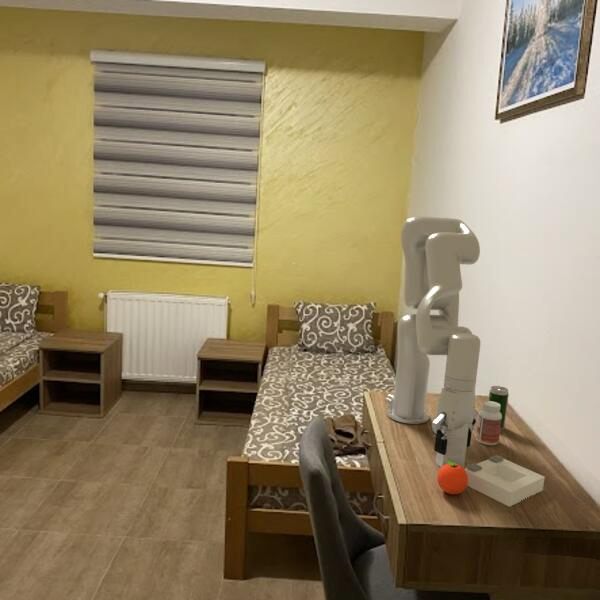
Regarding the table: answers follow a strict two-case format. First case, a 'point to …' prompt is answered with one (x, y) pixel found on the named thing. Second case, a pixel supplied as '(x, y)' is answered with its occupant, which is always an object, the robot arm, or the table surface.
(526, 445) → the table surface
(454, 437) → the skincare box
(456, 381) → the robot arm
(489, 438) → the pill bottle
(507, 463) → the socket plate
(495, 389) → the beer can
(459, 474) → the clementine
